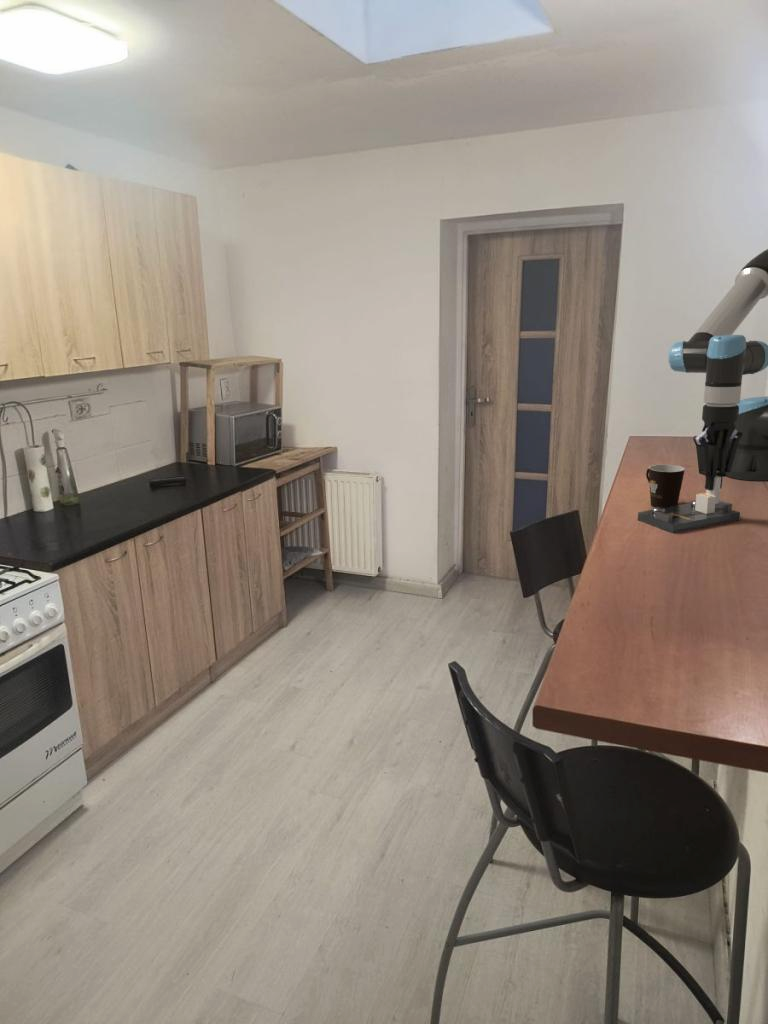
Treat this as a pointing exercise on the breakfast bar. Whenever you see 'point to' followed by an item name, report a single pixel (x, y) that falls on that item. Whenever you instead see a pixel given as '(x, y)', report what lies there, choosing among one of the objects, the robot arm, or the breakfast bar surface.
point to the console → (688, 517)
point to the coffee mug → (665, 484)
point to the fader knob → (705, 503)
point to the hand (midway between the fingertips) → (711, 502)
